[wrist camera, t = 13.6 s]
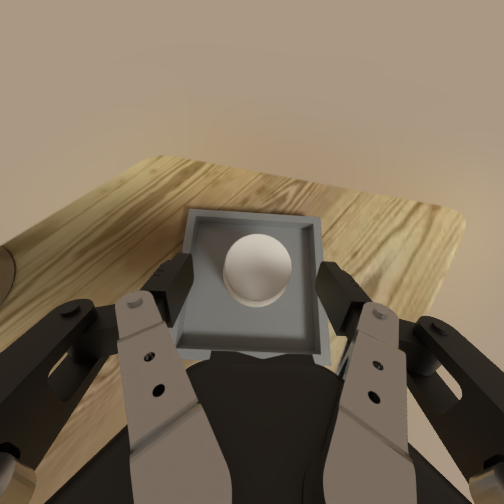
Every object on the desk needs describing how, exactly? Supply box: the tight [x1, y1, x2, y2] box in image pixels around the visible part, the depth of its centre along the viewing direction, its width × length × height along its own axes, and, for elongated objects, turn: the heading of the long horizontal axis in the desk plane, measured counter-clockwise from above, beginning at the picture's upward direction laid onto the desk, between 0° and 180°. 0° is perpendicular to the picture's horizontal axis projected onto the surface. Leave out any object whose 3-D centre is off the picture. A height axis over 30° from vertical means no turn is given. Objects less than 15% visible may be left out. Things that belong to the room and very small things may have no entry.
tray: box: [168, 209, 331, 366], centre depth 18 cm, size 14×14×2 cm
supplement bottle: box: [223, 234, 292, 307], centre depth 15 cm, size 5×5×8 cm
